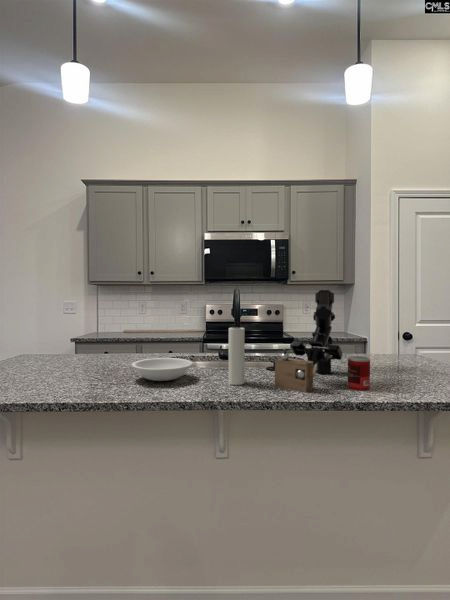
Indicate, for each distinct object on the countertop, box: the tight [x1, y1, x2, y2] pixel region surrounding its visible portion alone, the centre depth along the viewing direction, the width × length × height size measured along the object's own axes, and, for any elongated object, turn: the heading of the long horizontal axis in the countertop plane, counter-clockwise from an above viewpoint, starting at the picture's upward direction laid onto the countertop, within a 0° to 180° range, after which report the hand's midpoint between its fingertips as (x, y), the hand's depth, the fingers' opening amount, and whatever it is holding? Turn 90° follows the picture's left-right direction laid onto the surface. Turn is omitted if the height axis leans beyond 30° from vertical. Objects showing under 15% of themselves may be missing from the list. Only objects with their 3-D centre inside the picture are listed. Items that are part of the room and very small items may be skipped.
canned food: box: [347, 355, 371, 391], centre depth 141 cm, size 8×8×11 cm
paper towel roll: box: [228, 326, 246, 386], centre depth 147 cm, size 7×6×21 cm
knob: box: [296, 365, 317, 379], centre depth 139 cm, size 7×6×6 cm
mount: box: [274, 358, 314, 393], centre depth 141 cm, size 7×12×10 cm, turn 54°
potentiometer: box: [280, 348, 290, 361], centre depth 142 cm, size 3×3×4 cm
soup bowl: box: [131, 357, 194, 382], centre depth 154 cm, size 24×24×7 cm
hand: (309, 368), depth 142 cm, fingers closed, pressing on knob
